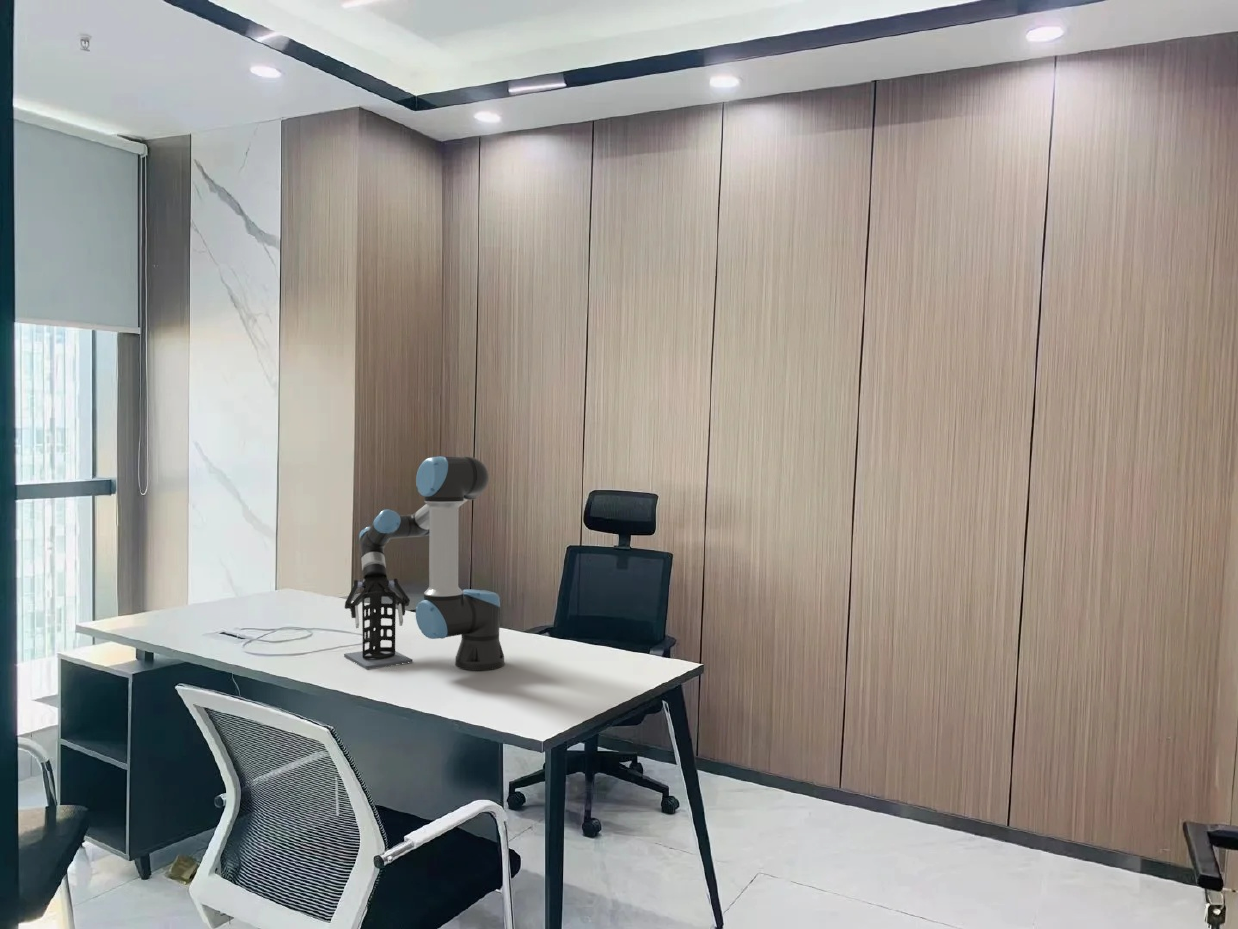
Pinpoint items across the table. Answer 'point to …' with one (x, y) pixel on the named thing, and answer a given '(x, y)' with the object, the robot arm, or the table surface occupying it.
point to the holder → (378, 624)
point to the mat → (377, 660)
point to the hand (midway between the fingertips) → (379, 624)
